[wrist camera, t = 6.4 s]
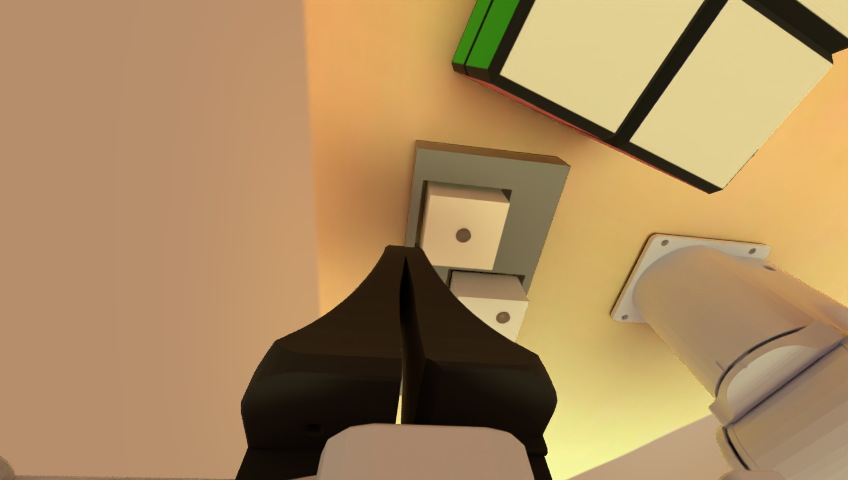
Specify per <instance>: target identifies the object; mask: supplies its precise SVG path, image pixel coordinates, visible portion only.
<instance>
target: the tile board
mask: <svg viewBox="0 0 848 480" xmlns="http://www.w3.org/2000/svg"><path fill="white" fill-rule="evenodd" d="M570 167H571V166H570V165H568V164H567V163H566V162H564V161H563V160H561V159H560V158H558V157H554V156H546V155H538V154H529V153H521V152H512V151H504V150H496V149H487V148H479V147H471V146H462V145H454V144H445V143H437V142H429V141H420V140H416V149H415V158H414V166H413V175H412V184H411V193H410V201H409V210H408V219H407V228H406V236H405V245H404V247H416V248H419V244H415V239H416V231H417V223H418V216H419V208H420V201H421V193H422V185H423V180H427V181H436V182H445V183H454V184H464V185H473V186H482V187H492V188H501V191H502V192H503V194H504V195H505V197H506V198H507V200H508V201H509V203H510V205H509V209H508V213H507V216H506V220H505V224H504V228H503V231H502V235H501V239H500V243H499V246H498V250H497V254H496V257H495V261H494V265H493V269H492V270H485V269H473V268H461V267H449V266H437V265H432V266H433V268H434V269H435V271H436V272H437V273H438V275H439V276H440V278H441V279H442V281H443V282H444V283H445V284H446V281H447V275H448V270H449V269H456V270H468V271H480V272H493V273H505V274H513V276H517V277H518V279H519V281H520V283H521V285H522V287H523V290H524V292H525V294H526V296H527V293H528V290H529V287H530V284H531V281H532V278H533V275H534V272H535V269H536V266H537V263H538V261H539V258H540V255H541V252H542V249H543V246H544V243H545V240H546V237H547V234H548V231H549V228H550V225H551V222H552V220H553V217H554V214H555V211H556V208H557V205H558V202H559V199H560V196H561V193H562V190H563V187H564V184H565V182H566V179H567V176H568V173H569V170H570ZM400 395H402V380H401V388H400Z"/></svg>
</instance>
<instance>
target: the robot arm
mask: <svg viewBox="0 0 848 480" xmlns="http://www.w3.org/2000/svg"><path fill="white" fill-rule="evenodd" d="M664 240H665V241H664ZM662 241H664V242H663V243H662ZM770 251H771V248H770V247H769V246H767V245H764V244H755V243H745V242H735V241H725V240H715V239H705V238H695V237H684V236H674V235H664V234H655V235H653V236H651V237H650V239H649V240H648V242H647V244H646V246H645V248H644V250H643V252H642V254H641V256H640V258H639V260H638V262H637V264H636V266H635V268H634V270H633V272H632V274H631V276H630V278H629V280H628V282H627V283H626V285H625V287H624V289H623V291H622V293H621V295H620V297H619V299H618V301H617V303H616V305H615V307H614V309H613V311H612V313H611V317H612V319H613V320H614V321H622V322H637V323H648V324H649V325H650V326H651V328H652V329H653V330H654V331H655V332H656V333H657V334H658V335H659V337H660V338H661V339H662V340H663V341H664V342H665V343H666V344H667V346H668V347H669V348H670V349H671V350H672V351H673V352H674V353H675V355H676V356H677V357H678V358H679V359H680V360H681V361H682V362H683V364H684V365H685V366H686V367H687V368H688V369H689V370H690V371H691V373H692V374H693V375H694V376H695V377H696V378H697V379H698V380H699V382H700V383H701V384H702V385H703V386H704V387H705V388H706V389H707V391H708V392H709V393H710V394H711V395H712V396H713V397H714V398H715V401H714V402H713V403H712V404H711V405H710V406H709V409H710V410H711V412H712V413H713V414H714V415H715V416H716V418H717V419H718V420H719V421H720V422H721V423H722V425H721V426H720V427H718V428H717V430H716V440H717V443H718V446H719V449H720V452H721V455H722V458H723V460H724V462H725V463H726V465H727V467H728V469H729V470H730V472H728V473H726V474H724V475H723V476H721V477H720V478H719V479H718V480H848V308H847V307H846V306H844V305H842V304H841V303H839V302H837V301H835V300H834V299H832V298H830V297H828V296H827V295H825V294H823V293H822V292H820V291H818V290H816V289H815V288H813V287H811V286H809V285H808V284H806V283H804V282H803V281H801V280H799V279H797V278H796V277H794V276H792V275H790V274H789V273H787V272H785V271H784V270H782V269H780V268H778V267H777V266H775V265H773V264H771V263H770V262H768V261H766V260H765V259H766V257H767V256H768V255H769V253H770ZM402 375H403V378H402ZM401 380H402V408H401V424H396V416H397V409H398V402H399V395H400V388H401ZM556 404H557V395H556V391H555V388H554V386H553V384H552V381H551V379H550V377H549V375H548V373H547V371H546V369H545V367H544V365H543V364H542V362H541V360H540V358H539V356H538V355H537V354H535V353H533V352H531V351H530V350H528V349H526V348H524V347H522V346H520V345H518V344H517V343H515V342H513V341H511V340H510V339H508V338H506V337H505V336H503V335H502V334H500V333H499V332H497V331H496V330H494V329H493V328H491V327H490V326H489V325H487V324H486V323H485V322H483V321H482V320H481V319H480V318H478V317H477V316H476V315H475V314H473V313H472V312H471V311H470V310H469V309H468V308H467V307H466V306H465V305H464V304H463V303H461V302H460V301H459V300H458V299H457V298H456V296H455V295H454V294H453V293H452V292H451V291H450V289H449V288H448V287H447V286H446V284H445V283H444V282H443V281H442V279H441V278H440V276H439V275H438V273H437V272H436V271H435V269H434V268H433V266H432V264H431V263H430V261H429V259H428V258H427V256H426V254H425V252H424V250H423V249H422V248H416V247H404V246H393V245H388V246H387V247H385V250H384V253H383V255H382V256H381V258H380V260H379V261H378V263H377V264H376V266H375V267H374V268H373V270H372V271H371V273H370V274H369V275H368V276H367V277H366V279H365V280H364V281H363V282H362V283H361V284H360V285H359V287H358V288H357V289H356V290H355V291H354V292H353V293H352V294H350V295H349V296H348V297H347V298H346V299H345V300H344V301H343V302H341V303H340V304H339V305H338V306H336V307H335V308H334V309H332V310H331V311H330V312H328V313H327V314H325V315H324V316H322V317H321V318H319V319H318V320H316V321H314V322H313V323H311V324H309V325H307V326H306V327H304V328H302V329H300V330H297V331H296V332H293V333H291V334H289V335H287V336H285V337H283V338H280V339H278V340H276V341H275V342H274V343H273V345H272V346H271V348H270V349H269V350H268V352H267V353H266V355H265V356H264V358H263V360H262V361H261V362H260V364H259V366H258V367H257V369H256V371H255V372H254V375H253V377H252V379H251V381H250V383H249V386H248V388H247V390H246V392H245V394H244V396H243V399H242V401H241V415H242V420H243V424H244V429H245V434H246V439H247V443H248V449H247V452H246V454H245V456H244V459H243V462H242V464H241V466H240V469H239V471H238V474H237V476H236V479H197V478H141V477H86V476H85V477H84V476H82V477H81V476H31V475H30V476H29V475H15V472H14V470H13V468H12V466H11V465H10V464H9V462H8V461H7V460H5V459H4V458H3V457H1V456H0V480H552V477H551V474H550V471H549V469H548V466H547V463H546V460H545V457H544V456H546V455H547V453H548V451H547V446H546V443H545V440H544V438H543V433H544V431H545V429H546V427H547V425H548V423H549V421H550V419H551V417H552V415H553V413H554V411H555V408H556Z"/></svg>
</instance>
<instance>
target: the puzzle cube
mask: <svg viewBox="0 0 848 480" xmlns="http://www.w3.org/2000/svg"><path fill="white" fill-rule="evenodd" d="M846 48H848V0H477V3H476V5H475V7H474V10H473V12H472V15H471V17H470V19H469V22H468V24H467V27H466V29H465V31H464V34H463V36H462V39H461V41H460V43H459V46H458V48H457V51H456V53H455V55H454V58H453V60H452V65H453V68H454V71H456V72H458V73H460V74H462V75H464V76H466V77H468V78H470V79H472V80H474V81H476V82H478V83H480V84H482V85H484V86H486V87H488V88H490V89H492V90H494V91H496V92H498V93H500V94H502V95H504V96H506V97H508V98H510V99H512V100H514V101H516V102H518V103H520V104H523V105H525V106H527V107H529V108H531V109H533V110H535V111H537V112H539V113H541V114H543V115H545V116H547V117H549V118H551V119H553V120H555V121H557V122H559V123H561V124H563V125H565V126H567V127H569V128H571V129H573V130H575V131H577V132H579V133H581V134H583V135H585V136H587V137H589V138H592V139H594V140H596V141H598V142H600V143H602V144H604V145H607V146H609V147H611V148H613V149H615V150H617V151H619V152H622V153H624V154H626V155H628V156H630V157H632V158H634V159H636V160H638V161H640V162H642V163H644V164H646V165H648V166H650V167H653V168H655V169H657V170H659V171H661V172H663V173H665V174H667V175H670V176H672V177H674V178H676V179H678V180H680V181H682V182H685V183H687V184H689V185H691V186H693V187H695V188H697V189H700V190H702V191H704V192H706V193H708V194H711V193H714V192H717V191H720V190H723V189H724V188H725V186H726V185H727V184H728V183H729V182H730V181H731V180H732V179H733V177H734V176H735V175H736V174H737V173H738V172H739V171H740V170H741V168H742V167H743V166H744V165H745V164H746V163H747V162H748V161H749V159H750V158H751V157H752V156H753V155H754V154H755V153H756V152H757V150H758V149H759V148H760V147H761V146H762V145H763V144H764V143H765V141H766V140H767V139H768V138H769V137H770V136H771V135H772V134H773V132H774V131H775V130H776V129H777V128H778V127H779V126H780V125H781V123H782V122H783V121H784V120H785V119H786V118H787V117H788V116H789V115H790V113H791V112H792V111H793V110H794V109H795V108H796V107H797V106H798V104H799V103H800V102H801V101H802V100H803V99H804V98H805V97H806V95H807V94H808V93H809V92H810V91H811V90H812V89H813V88H814V86H815V85H816V84H817V83H818V82H819V81H820V80H821V79H822V77H823V76H824V75H825V74H826V73H827V72H828V71H829V70H830V68H831V67H832V66H833V59H832V54H833V53H836V52H838V51H841V50H844V49H846Z"/></svg>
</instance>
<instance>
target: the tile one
mask: <svg viewBox="0 0 848 480" xmlns="http://www.w3.org/2000/svg"><path fill="white" fill-rule="evenodd" d="M509 205H510V203H509V201H508V200H507V198H506V197H505V195H504V194H503V192H502V191H501V190H500V188H492V187H482V186H473V185H464V184H454V183H445V182H436V181H427V187H426V194H425V202H424V209H423V216H422V224H421V231H420V238H419V248H422V249H423V250H424V252H425V254H426V256H427V258H428V259H429V261H430V263H431V264H432V265H437V266H449V267H461V268H473V269H485V270H492V269H493V265H494V261H495V257H496V254H497V250H498V246H499V243H500V239H501V235H502V231H503V228H504V224H505V220H506V216H507V213H508V209H509Z"/></svg>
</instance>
